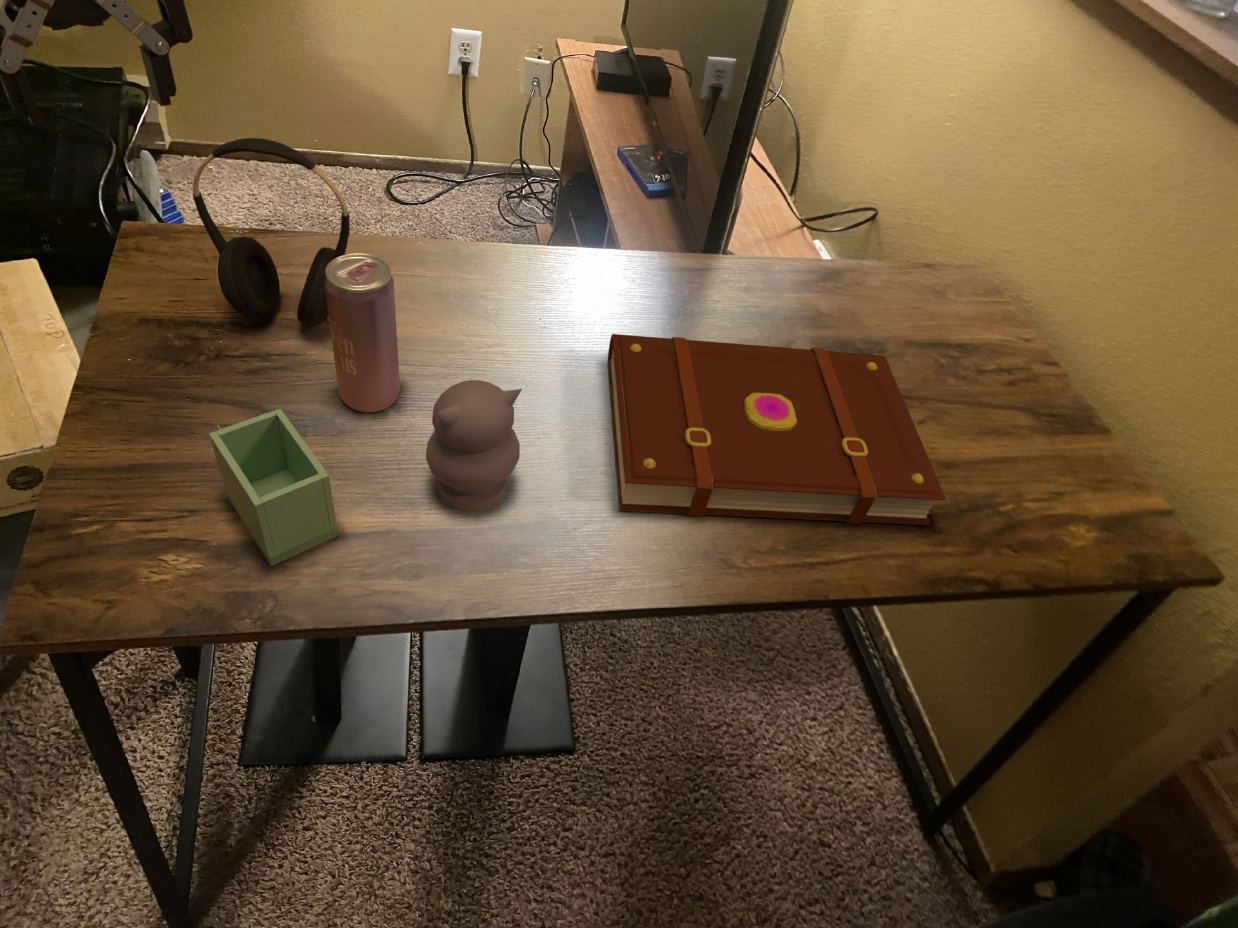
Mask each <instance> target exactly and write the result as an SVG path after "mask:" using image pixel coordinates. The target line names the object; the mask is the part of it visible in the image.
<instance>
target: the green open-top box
mask: <svg viewBox="0 0 1238 928" xmlns="http://www.w3.org/2000/svg"><path fill="white" fill-rule="evenodd" d="M208 436H209V439H210V443H211V445H212V449H213V453H214V456H215V459H216V462H217V466H218V470H219V473H220V476H221V480H222V483H223V485H224V490H225V493H226V497H227V499H228V500H229V502H230V503H231V505H232V506H233V509H234V510H235V511H236V513H237V515H238V516H239V518H240V519H241V521H242V522H243V524H244V526H245V527H246V529H247V530H248V533H249V534H250V536H251V537H252V539H253V540H254V542H255V543H256V545H257V547H258V548H259V550H260V552H261V553H262V555H263V556H264V558H265V560H266V561H267V563H268V565H269V566H270V567H273V566H275V565H277V564H280V563H282V562H284V561H286V560H288V559H290V558H293V557H295V556H297V555H299V554H301V553H304V552H306V551H308V550H311V549H313V548H315V547H317V546H319V545H322V544H324V543H326V542H329V541H331V540H333V539H335V538H337V537H339V532H338V525H337V519H336V512H335V506H334V499H333V493H332V487H331V481H330V475H329V474H328V472H327V471H326V469H325V468H324V466H323V465H322V463H320V461H319V460H318V458H317V457H316V455H315V454H314V453H313V451H312V450H311V448H310V447H309V445H308V444H307V443H306V441H305V440H304V438H303V437H302V436H301V434H300V432H298V431H297V428H295V426H294V424H293V423H292V421H290V419H289V418H288V417H287V415H286V414H285V413H284V411H283V409H282V408H277V409H274V410H272V411H271V410H270V411H269V412H266V413H263V414H259V415H257V416H254V417H252V418H249V419H246V420H243V421H241V422H240V421H239V422H237V423H234V424H232V425H229V426H225V427H224V428H221V429H218V430H214V431H212V432H210V433H208Z"/></svg>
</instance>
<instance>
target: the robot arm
mask: <svg viewBox="0 0 1238 928" xmlns="http://www.w3.org/2000/svg"><path fill="white" fill-rule="evenodd" d="M155 1H156V3H157V8H158V11H159V13H160V17H161V20H159V21H157V22H155V23H153V24H151V23H150V22H148V21H147V20H146V18H145V17H144V16H142V15H141V14H140V13H139V12H138V11H136V9H134V7H132V6H131V5H130V4H129V3H128V2H127V1H126V0H3V1H2V4H1V6H0V83H1V85H2V88H3V90H4V93H5V96H6V98H7V100H8V103H9V105H10V106H11V108H12V109H13V111H14V112H15V113H16V115H17V116H18V117H19V118H20V119H26V118H27V120H28V121H29V122H30V124H31V126H38V125H45V124H44V123H45V121H44V119H43V117H42V114H41V111H40V109H39V106H38V102H37V100H36V97H35V95H34V92H33V89H32V87H31V84H30V81H29V78H28V75H27V73H26V71H25V69H24V68H23V67H22V63H23V61H24V59H25V57H26V55H27V52H28V50H29V48H30V47H32V46H33V45H34V44H35V42H36V40H37V37H38V35H39V33H40V31H41V28H42V26H43V27H46V28H50V29H51V30H52V31H61V30H62V31H63V30H67V29H71V28H73V27H76V26H84V27H90V28H92V27H102V26H105V25H104V22H106V21H108V20H109V19H110V18H111V17H112V18H114V19H115V21H117V22H118V23H119V24H120V25H122V26H123V27H124V28H125V29H126V30H127V31H128V32H129V33H130V34H132V35H133V36H135V37H136V38H137V40H139V41H140V42H142V44H141V45H138V47H139V51H140V55H141V59H142V63H143V66H144V70H145V74H146V78H147V82H148V85H149V89H150V92H151V96H152V97H153V99H154V100H155V102H156V103H157V104H158V105H159V106H160V107H167V106H171V105H172V100H171V98H172V97H176V96H177V95H176V94H177V86H176V81H175V77H174V73H173V70H172V69H173V68H172V63H171V60H170V56H169V55H170V54H169V53H170V50H171V49H172V48H173V47H174V46H176V45H178V44H180V43H182V44H188V43H190V42H191V41H192V40H193V38H194V37H193V36H194V34H193V30H192V26H191V21H190V18H189V16H188V11H187V7H186V5H185V1H184V0H155Z"/></svg>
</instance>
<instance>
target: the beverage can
mask: <svg viewBox="0 0 1238 928" xmlns="http://www.w3.org/2000/svg"><path fill="white" fill-rule="evenodd" d="M325 275H326V276H325V280H324V285H325V292H326V300H327V307H328V315H329V321H328V323H329V329H330V336H331V345H332V353H333V359H334V366H335V367H334V368H335V374H336V375H335V376H336V383H337V391H338V395H339V397H340V399H341V400H342V402H343V403H344V404H345V405H347V406H348V407H349V408H351V409H352V410H355V411H358V412H362V413H375V412H381V411H383V410H386V409H387V408H389V407H390V406H392V404H394V402H395V401H396V400H398V397H399V395H400V392H401V385H400V384H401V383H400V365H399V363H400V362H399V350H398V349H399V348H398V346H399V345H398V333H397V331H398V330H397V315H396V314H397V313H396V299H395V298H396V297H395V296H396V295H395V281H394V278H393V275H392V270H391V267H390V266H389V264H388V263H387V261H385V260H384V259H382V258H381V257H379V256H376V255H373V254H369V253H362V252H361V253H360V252H354V253H353V252H352V253H348V254H346V253H345V255H342V256H339V257H337V258H335V259H333V260H332V261H331V262H330V263H329V264H328V265H327V267H326V270H325Z"/></svg>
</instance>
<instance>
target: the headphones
mask: <svg viewBox="0 0 1238 928" xmlns="http://www.w3.org/2000/svg"><path fill="white" fill-rule="evenodd" d="M243 152H244V153H245V152H247V153H254V154H260V155H269V156H275V157H279V158H282V159H285V160H287V161H291V162H293V163H295V164H297V165H299V166H302V167H303V168H305V169H307V170H308V171H312V172H313V173H314V174H315V175H317V176H318V177H319V178H320V179H321V180H322V181H323V182H324V183H325V184H326V185H327V186H328V187H329V188H330V190H331V191H332V192H333V195H335V197H336V199H337V201H338V202H339V205H340V208H341V217H340V218H341V219H340V232H339V237H338V240H337V244H336V247H335V248H332V247H329V246H328V247H326V246H323V247H321V248H319V249H318V250H317V252H316V253H315V256H314V257H313V260H312V263H311V265H310V267H309V270H308V273H307V276H306V279H305V282H304V285H303V289H302V291H301V294H300V298H299V302H298V306H297V312H296V314H297V315H296V318H297V320H298V321H299V322H300V323H301V324H302V325H304V326H307V327H309V328H314V327H318V326H320V325H322V324H324V323H326V322H329V315H328V307H327V300H326V292H325V285H324V280H325V276H326V275H325V270H326V267H327V265H328V264H329V263H330V262H331V261H332V260H333V259H335V258H337V257H339V256H342V255H346V252H347V249H348V248H347V247H348V244H349V243H348V242H349V237H350V231H351V230H350V226H351V225H350V212H349V210H348V207H347V203H346V202H345V201H346V200H345V199H344V196H343V195H342V193H341V192H340V190H339V189H338V188H337V185H335V183H334V182H333V181H332V180H331V179H330V177H328V176H327V175H326V174H325V173H324V172H323V171H322V170H321V169H319V167H317V166H316V163H314V162H313V161H312V160H311V159H309V158H308V157H307V156H306V155H304V154H303V153H302V152H300V151H298V150H296V149H294V148H293V147H290V146H289V145H286V144H284V143H282V142H279V141H277V140H276V141H275V140H271V139H267V138H262V137H261V138H258V137H246V138H239V139H235V140H232V141H228V142H224V143H222V144H221V145H219V146H218V147H216V148H215V149H213V150H212V151H211V153H210V155H208V156H207V157H206V158H205V159H204V160H203V161H202V162H201V163H200V165H199V166H198V167H197V169H196V172H195V174H194V177H193V181H192V193H193V194H192V198H193V201H194V204H195V207H196V211H197V214H198V216H199V218H200V220H201V222H202V224H203V226H204V228H205V231H206V232H207V234H208V236H209V238H210V240H211V242H212V243H213V245H214V247H215V249H216V250H217V252H218V254H219V255H218V258H217V262H216V269H215V270H216V280H217V283H218V288H219V290H220V293H221V295H222V296H223V298H224V300H225V301H226V303H227V304H228V305H229V307H231V308H232V309H233V310H234V311H235V312H236V313H238V314H239V315H240V316H242V317H243V318H245V319H247V320H250V321H251V320H252V321H261V320H265V319H268V318H269V317H271V316H272V315H273V314H274V313H275V312H276V311H277V308H278V305H279V302H280V297H281V288H280V287H281V286H280V285H281V284H280V279H279V274H278V270H277V267H276V265H275V262H274V260H273V258H272V256H271V255H270V253H269V251H268V250H267V248H266V247H265V246H264V245H263V244H262V243H260V242H259V241H258V240H256V239H254V238H252V237H248V236H238V237H234V238H231V239H229V240H228V241H226V239H225V238H224V236H223V234H222V232H221V231H220V229H219V228H218V227H217V225H216V223H215V221H214V220H213V217H212V216H211V214H210V213H209V210H208V208H207V206H206V203H205V200H204V198H203V195H202V193H201V192H200V187H199V186H200V185H199V184H200V179H201V176H202V173H203V171H204V170H205V168H206V167H207V165H208V164H210V163H211V162H212V161H213V160H214V159H216V158H221V157H222V156H224V155H228V154H233V153H243Z"/></svg>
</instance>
